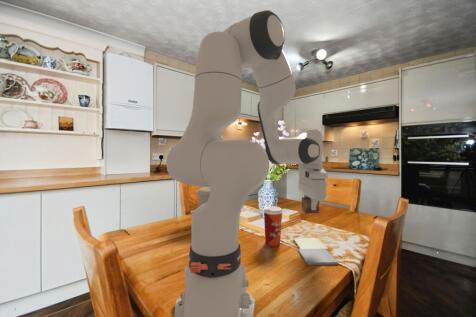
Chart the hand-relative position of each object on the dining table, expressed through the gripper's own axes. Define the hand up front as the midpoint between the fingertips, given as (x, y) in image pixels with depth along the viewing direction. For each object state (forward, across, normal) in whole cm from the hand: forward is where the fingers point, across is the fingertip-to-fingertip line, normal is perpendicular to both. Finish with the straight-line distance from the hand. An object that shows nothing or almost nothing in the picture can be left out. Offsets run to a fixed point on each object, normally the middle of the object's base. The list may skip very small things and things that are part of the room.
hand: (310, 207), depth 87 cm
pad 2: (+15, +10, -1) cm, 18 cm away
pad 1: (+15, 0, 0) cm, 15 cm away
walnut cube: (+2, 0, 0) cm, 2 cm away
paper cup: (+15, -2, -14) cm, 21 cm away
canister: (+15, -27, -39) cm, 50 cm away
